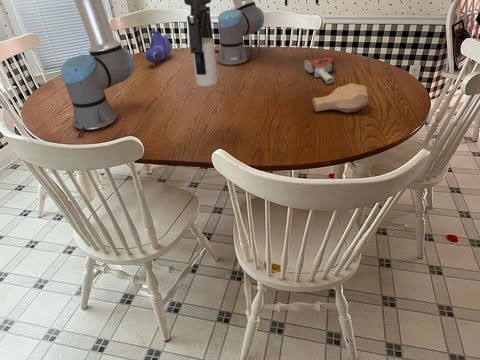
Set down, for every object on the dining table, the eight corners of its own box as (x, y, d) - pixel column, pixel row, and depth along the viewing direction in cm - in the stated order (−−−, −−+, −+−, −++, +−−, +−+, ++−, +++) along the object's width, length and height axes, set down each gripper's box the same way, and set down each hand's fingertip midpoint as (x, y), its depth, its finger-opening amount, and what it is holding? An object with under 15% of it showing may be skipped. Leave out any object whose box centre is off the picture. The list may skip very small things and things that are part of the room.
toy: (159, 62, 200) (139, 68, 178) (155, 30, 193) (133, 32, 171) (176, 61, 198) (157, 67, 176) (172, 29, 191) (151, 31, 169)
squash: (372, 113, 127) (374, 92, 121) (316, 123, 129) (316, 102, 123) (363, 96, 135) (365, 75, 129) (310, 106, 137) (310, 86, 130)
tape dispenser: (330, 89, 151) (346, 71, 163) (331, 77, 147) (348, 59, 160) (292, 80, 158) (310, 64, 171) (293, 69, 155) (311, 53, 167)
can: (193, 85, 112) (188, 44, 104) (199, 77, 117) (194, 37, 110) (214, 86, 111) (210, 43, 103) (219, 78, 116) (216, 37, 108)
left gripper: (197, -7, 89) (207, 82, 103) (219, -18, 105) (224, 60, 118) (170, -6, 91) (183, 81, 105) (195, -18, 106) (203, 59, 120)
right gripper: (274, -50, 142) (274, 7, 155) (336, -54, 142) (331, 4, 154) (272, -52, 148) (272, 4, 161) (332, -55, 148) (327, 1, 160)
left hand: (205, 69), depth 111 cm, fingers closed on can, 7 cm apart
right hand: (301, 4), depth 157 cm, fingers open, 13 cm apart
